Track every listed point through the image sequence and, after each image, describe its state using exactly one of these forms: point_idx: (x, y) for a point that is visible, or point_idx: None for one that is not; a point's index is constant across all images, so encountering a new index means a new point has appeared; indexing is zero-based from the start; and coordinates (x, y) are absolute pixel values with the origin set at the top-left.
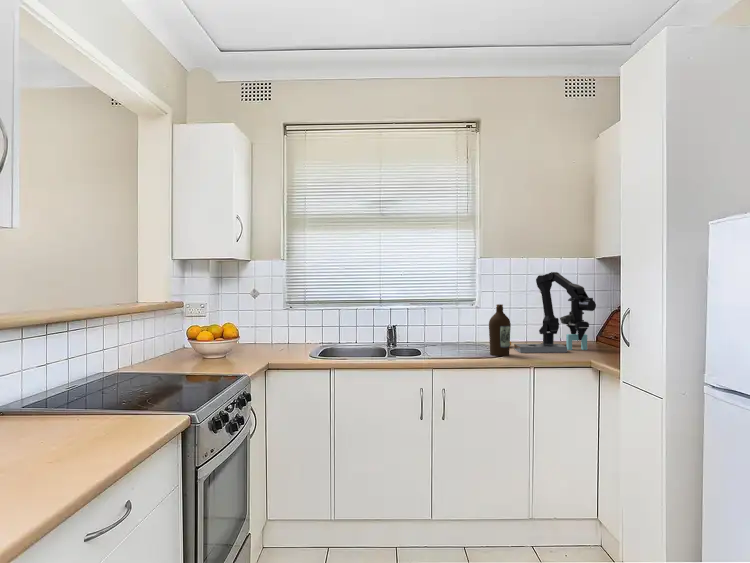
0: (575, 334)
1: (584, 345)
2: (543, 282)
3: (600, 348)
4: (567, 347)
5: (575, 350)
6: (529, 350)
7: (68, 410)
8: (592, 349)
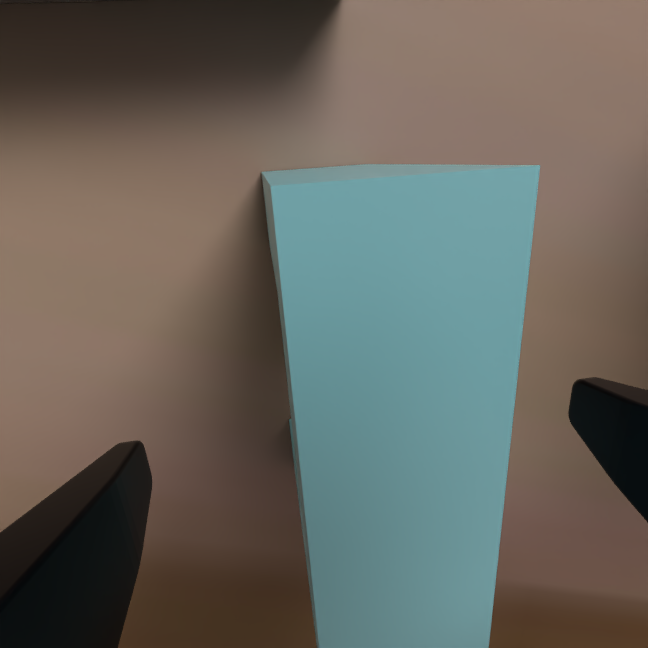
0: (419, 493)
1: (296, 478)
2: None
3: None
4: (313, 168)
5: (222, 288)
6: None
7: None
8: None
